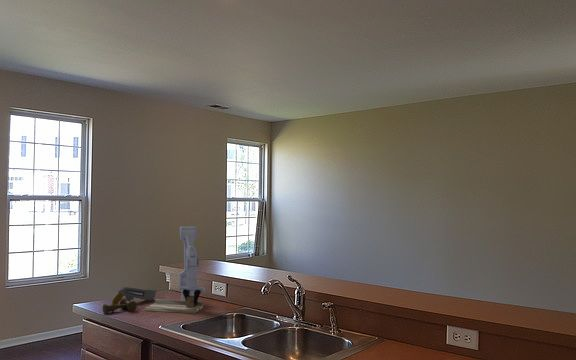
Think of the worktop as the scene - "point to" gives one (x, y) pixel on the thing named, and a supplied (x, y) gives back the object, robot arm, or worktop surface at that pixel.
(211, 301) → the worktop surface
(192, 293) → the robot arm
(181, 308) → the board
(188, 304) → the brown handled block
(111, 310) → the kendama
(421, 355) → the worktop surface
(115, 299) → the gun
